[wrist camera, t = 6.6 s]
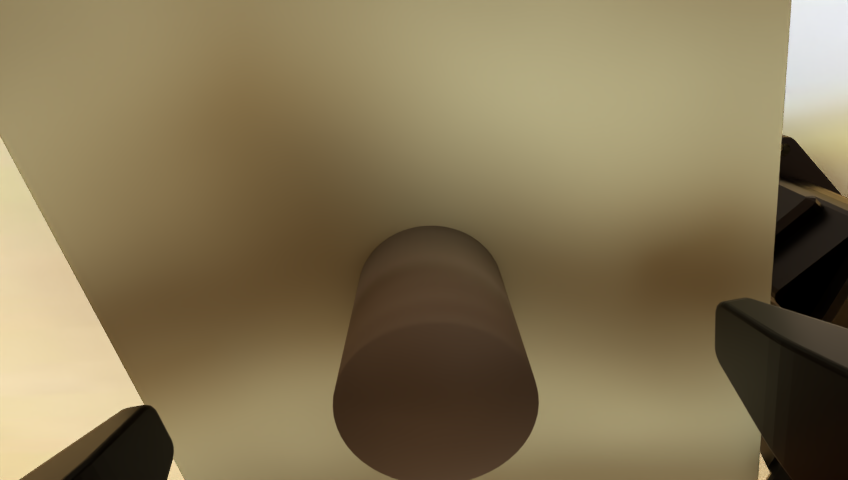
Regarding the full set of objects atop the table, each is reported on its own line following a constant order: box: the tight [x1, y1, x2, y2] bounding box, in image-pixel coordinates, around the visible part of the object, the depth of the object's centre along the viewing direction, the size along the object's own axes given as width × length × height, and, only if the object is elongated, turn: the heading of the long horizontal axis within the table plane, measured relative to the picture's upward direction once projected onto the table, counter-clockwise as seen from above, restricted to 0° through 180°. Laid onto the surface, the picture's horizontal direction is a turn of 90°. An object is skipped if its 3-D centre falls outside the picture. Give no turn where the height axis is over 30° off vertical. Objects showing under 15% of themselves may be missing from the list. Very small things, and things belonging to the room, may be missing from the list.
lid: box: [0, 0, 791, 480], centre depth 9 cm, size 14×14×4 cm
